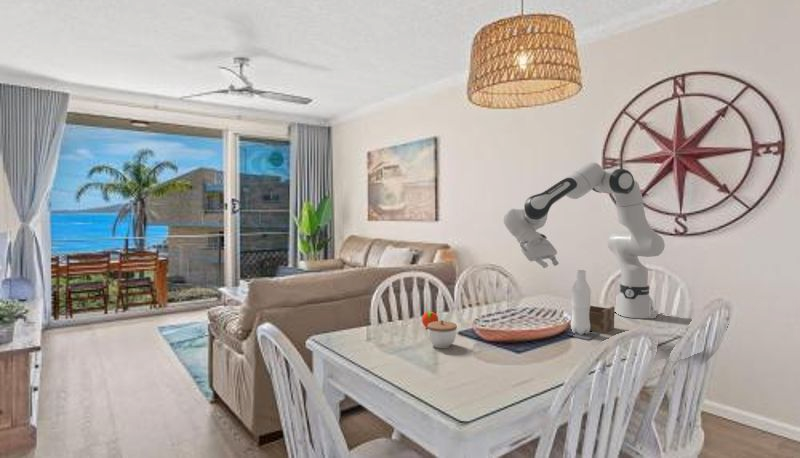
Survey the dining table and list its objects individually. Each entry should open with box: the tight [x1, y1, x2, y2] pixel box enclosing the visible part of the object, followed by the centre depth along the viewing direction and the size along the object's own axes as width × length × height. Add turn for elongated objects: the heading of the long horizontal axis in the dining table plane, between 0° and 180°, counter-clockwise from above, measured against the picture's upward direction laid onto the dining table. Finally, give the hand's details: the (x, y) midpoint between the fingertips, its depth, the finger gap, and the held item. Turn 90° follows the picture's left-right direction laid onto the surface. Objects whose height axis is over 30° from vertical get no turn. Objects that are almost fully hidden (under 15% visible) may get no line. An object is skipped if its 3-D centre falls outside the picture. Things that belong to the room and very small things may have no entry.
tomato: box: [421, 311, 439, 329], centre depth 189 cm, size 8×7×7 cm
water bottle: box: [570, 269, 592, 335], centre depth 179 cm, size 7×7×25 cm
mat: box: [573, 331, 601, 341], centre depth 179 cm, size 11×11×1 cm
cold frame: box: [589, 305, 616, 335], centre depth 189 cm, size 12×12×9 cm
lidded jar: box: [426, 319, 458, 349], centre depth 165 cm, size 11×11×9 cm
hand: (551, 265), depth 187 cm, fingers open, 8 cm apart
